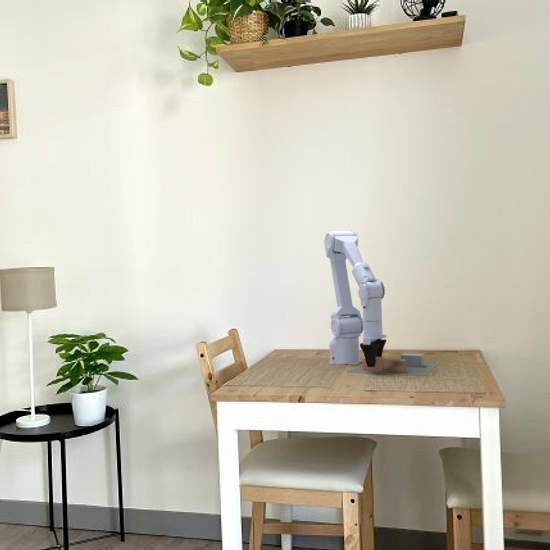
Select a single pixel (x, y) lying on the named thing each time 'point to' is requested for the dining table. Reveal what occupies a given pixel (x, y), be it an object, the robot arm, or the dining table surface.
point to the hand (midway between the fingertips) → (374, 364)
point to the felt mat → (409, 371)
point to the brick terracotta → (377, 364)
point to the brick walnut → (394, 366)
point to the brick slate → (413, 360)
